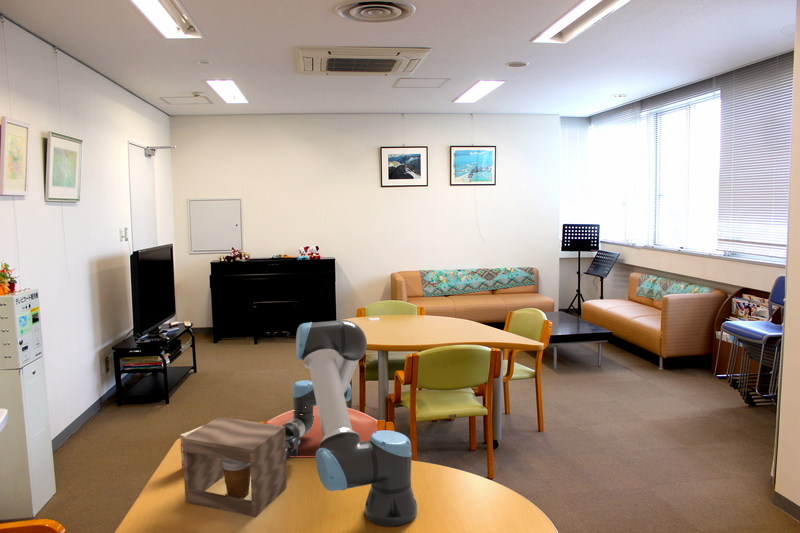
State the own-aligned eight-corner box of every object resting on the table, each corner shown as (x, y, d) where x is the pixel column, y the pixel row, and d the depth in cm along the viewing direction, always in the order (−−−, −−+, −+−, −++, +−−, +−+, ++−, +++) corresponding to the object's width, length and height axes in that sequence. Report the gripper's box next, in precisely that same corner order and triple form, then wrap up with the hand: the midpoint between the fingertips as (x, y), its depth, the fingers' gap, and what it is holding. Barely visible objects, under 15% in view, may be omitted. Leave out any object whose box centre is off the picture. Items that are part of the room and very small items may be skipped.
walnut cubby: (221, 475, 180) (219, 416, 178) (286, 488, 173) (285, 426, 170) (185, 502, 164) (182, 437, 162) (255, 517, 156) (253, 449, 154)
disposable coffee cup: (215, 500, 165) (214, 462, 164) (232, 484, 175) (231, 448, 173) (244, 504, 163) (243, 466, 162) (259, 488, 172) (258, 451, 171)
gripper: (321, 447, 195) (291, 475, 175) (260, 437, 203) (225, 463, 183) (321, 427, 194) (291, 452, 174) (260, 418, 202) (224, 441, 182)
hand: (257, 458), depth 178 cm, fingers open, 13 cm apart
